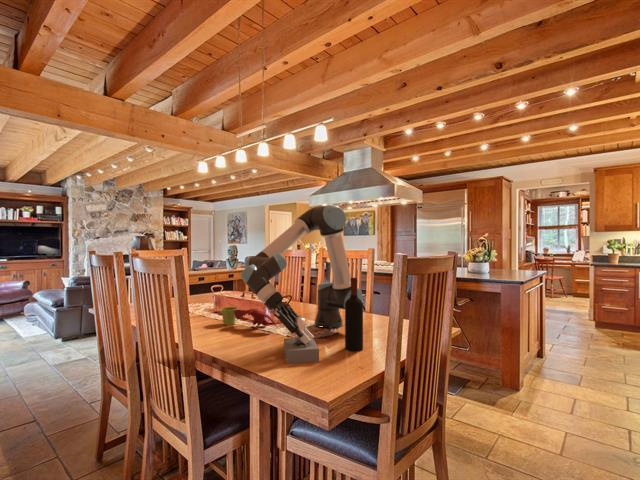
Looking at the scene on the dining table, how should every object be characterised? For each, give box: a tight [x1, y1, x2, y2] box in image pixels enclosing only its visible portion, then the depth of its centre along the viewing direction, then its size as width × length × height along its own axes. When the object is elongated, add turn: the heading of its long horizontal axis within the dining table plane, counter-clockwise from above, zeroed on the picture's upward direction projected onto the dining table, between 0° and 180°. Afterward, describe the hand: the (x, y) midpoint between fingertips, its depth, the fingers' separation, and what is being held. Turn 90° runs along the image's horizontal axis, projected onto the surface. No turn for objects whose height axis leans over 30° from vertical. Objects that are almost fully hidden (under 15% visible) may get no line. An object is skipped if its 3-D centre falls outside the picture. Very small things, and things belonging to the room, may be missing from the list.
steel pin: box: [294, 316, 306, 346], centre depth 138 cm, size 4×4×12 cm
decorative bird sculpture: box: [234, 308, 277, 330], centre depth 181 cm, size 28×9×15 cm
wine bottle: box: [344, 277, 364, 353], centre depth 147 cm, size 8×8×30 cm
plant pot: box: [219, 306, 239, 326], centre depth 190 cm, size 9×9×9 cm
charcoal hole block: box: [283, 337, 320, 365], centre depth 138 cm, size 12×16×5 cm
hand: (309, 340), depth 137 cm, fingers closed on steel pin, 4 cm apart
